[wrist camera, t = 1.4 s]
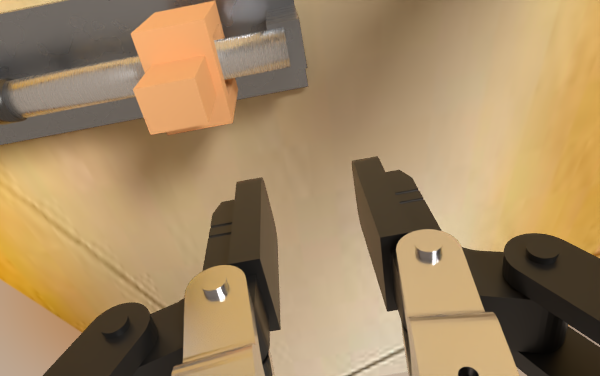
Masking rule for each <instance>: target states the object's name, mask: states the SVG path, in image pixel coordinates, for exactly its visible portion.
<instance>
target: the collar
mask: <svg viewBox="0 0 600 376" xmlns="http://www.w3.org/2000/svg"><path fill="white" fill-rule="evenodd" d="M131 37H132V39H133V42H134V45H135V47H136V50H137V53H138V56H139V58H140V61H141V64H142V67H143V69H144V72H145V74H144V76H143V77H142V78H141V79H140V81H139V82H138V83H137V85H136V86H135V87H134V89H133V91H134V94H135V96H136V99H137V101H138V104H139V107H140V109H141V112H142V114H143V117H144V119H145V122H146V125H147V127H148V130H149V132H150V135H153V134H158V133H163V132H167V135H172V134H177V133H182V132H188V131H193V130H198V129H203V128H209V127H214V126H219V125H225V124H230V123H233V119H234V112H235V106H236V100H237V94H238V87H237V83H236V79H235V78H231V79H226V80H224V76H223V73H222V69H221V65H220V62H219V58H218V54H217V51H216V47H215V43H214V40H219V39H224V38H225V36H224V32H223V28H222V25H221V21H220V17H219V13H218V9H217V5H216V1H210V2H205V3H200V4H195V5H190V6H185V7H180V8H175V9H170V10H165V11H160V12H155V13H154V14H152V15H151V16H150V17H149V18H148V19H147V20H146V21H144V22H143V23H142V24H141V25H140V26H139V27H138V28H136V29H135V30H134V31H133V32H132V33H131Z"/></svg>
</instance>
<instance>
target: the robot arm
mask: <svg viewBox="0 0 600 376" xmlns="http://www.w3.org/2000/svg"><path fill="white" fill-rule="evenodd" d="M352 170H353V178H354V186H355V194H356V201H357V209H358V215H359V220H360V224H361V228H362V231H363V234H364V237H365V241H366V244H367V247H368V250H369V254H370V257H371V260H372V264H373V267H374V270H375V273H376V277H377V280H378V283H379V286H380V290H381V293H382V296H383V299H384V303H385V306H386V309H387V311H393V310H398V312H399V315H400V318H401V322H402V335H403V342H404V348H405V355H406V362H407V369H408V374H409V376H519V373H518V370H517V367H518V368H519V369H520V370H521V371H522V372H524V373H525V374H526V375H527V376H600V347H598V346H597V345H595V344H594V343H592V342H591V341H589V340H588V339H586V338H585V337H583V336H582V335H580V334H579V333H577V332H576V331H574V330H573V329H571V328H570V327H568V324H569V325H570V326H572V327H574V328H575V329H577V330H578V331H580V332H581V333H583V334H584V335H586V336H587V337H589V338H590V339H592V340H593V341H595V342H596V343H598V344H599V345H600V258H598V257H596V256H594V255H592V254H590V253H588V252H586V251H584V250H582V249H580V248H578V247H576V246H574V245H572V244H570V243H568V242H566V241H564V240H562V239H560V238H557V237H554V236H551V235H546V234H537V233H531V234H523V235H519V236H516V237H514V238H512V239H511V240H510V241H508V243H507V244H506V246H505V248H504V252H491V251H477V250H471V249H467V248H463V247H461V245H460V243H459V241H458V240H457V239H456V238H455V237H453V236H452V235H450V234H448V233H446V232H443V231H441V229H440V227H439V225H438V224H437V222H436V220H435V218H434V216H433V215H432V213H431V211H430V209H429V207H428V206H427V204H426V202H425V200H423V197H422V195H421V193H420V191H418V188H417V186H416V184H415V182H414V181H413V179H412V178H411V177H410V176H408V175H407V174H405V173H404V172H402V171H400V170H396V171H390V172H385V170H384V168H383V166H382V164H381V162H380V160H379V158H378V156H376V157H371V158H365V159H360V160H355V161H352ZM275 330H281V328H280V300H279V272H278V243H277V233H276V227H275V223H274V218H273V214H272V211H271V207H270V203H269V199H268V195H267V191H266V187H265V183H264V180H263V178H262V177H261V178H256V179H250V180H245V181H240V182H237V184H236V193H235V200H230V201H225V202H222V203H221V204H220V205H219V206H218V208H217V209H216V210H215V212H214V213H213V216H212V221H211V228H210V232H209V238H208V244H207V249H206V255H205V260H204V266H203V272H201V273H199V274H198V275H197V276H195V277H194V278H193V279H192V280H191V282H190V283H189V284H188V286H187V288H186V291H185V298H184V299H182V300H181V301H179V302H177V303H175V304H173V305H171V306H168V307H166V308H164V309H161V310H159V311H157V312H154V313H152V314H150V313H149V311H148V309H147V308H146V307H145V306H144V305H142V304H139V303H124V304H120V305H117V306H115V307H112V308H110V309H109V310H107V311H105V312H104V313H102V314H101V315H100V316H98V317H97V318H96V319H95V320H94V321H93V322H92V323H91V324H90V325H89V326H88V327H87V328H86V329H85V331H84V332H83V333H82V334H81V335H80V336H79V337H78V338H77V339H76V340H75V341H74V342H73V343H72V345H71V346H70V347H69V348H68V349H67V350H66V351H65V352H64V353H63V354H62V355H61V356H60V357H59V359H58V360H57V361H56V362H55V363H54V364H53V365H52V366H51V367H50V368H49V369H48V370H47V372H46V373H45V374H44V375H43V376H275V374H274V369H273V363H272V358H271V354H270V351H269V346H270V332H269V331H275Z"/></svg>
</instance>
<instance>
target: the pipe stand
mask: <svg viewBox="0 0 600 376" xmlns="http://www.w3.org/2000/svg"><path fill="white" fill-rule="evenodd" d="M210 1H216V5H217V9H218V13H219V17H220V21H221V25H222V28H223V32H224V36H225V38H224V39H219V40H214V43H215V47H216V51H217V54H218V58H219V62H220V65H221V69H222V73H223V76H224V80H226V79H231V78H235V79H236V83H237V87H238V94H237V100H238V99H244V98H249V97H254V96H259V95H265V94H270V93H275V92H280V91H286V90H291V89H296V88H301V87H307V86H308V83H307V77H306V71H305V68H307V64H306V58H305V52H304V46H303V40H302V34H301V28H300V22H299V17H298V14H297V11H296V8H295V5H294V0H62V1H57V2H52V3H47V4H42V5H37V6H33V7H28V8H23V9H18V10H13V11H8V12H3V13H0V145H2V144H8V143H13V142H18V141H23V140H29V139H34V138H39V137H44V136H50V135H55V134H60V133H65V132H71V131H76V130H81V129H86V128H92V127H97V126H102V125H107V124H113V123H118V122H123V121H128V120H134V119H139V118H144V117H143V114H142V112H141V109H140V107H139V104H138V101H137V99H136V96H135V94H134V91H133V89H134V87H135V86H136V85H137V83H138V82H139V81H140V79H141V78H142V77H143V76H144V74H145V72H144V69H143V67H142V64H141V61H140V58H139V56H138V53H137V50H136V47H135V45H134V42H133V39H132V37H131V33H132V32H133V31H134V30H135V29H136V28H138V27H139V26H140V25H141V24H142V23H143V22H144V21H146V20H147V19H148V18H149V17H150V16H151V15H152V14H154V13H155V12H160V11H165V10H170V9H175V8H180V7H185V6H190V5H195V4H200V3H205V2H210Z"/></svg>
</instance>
